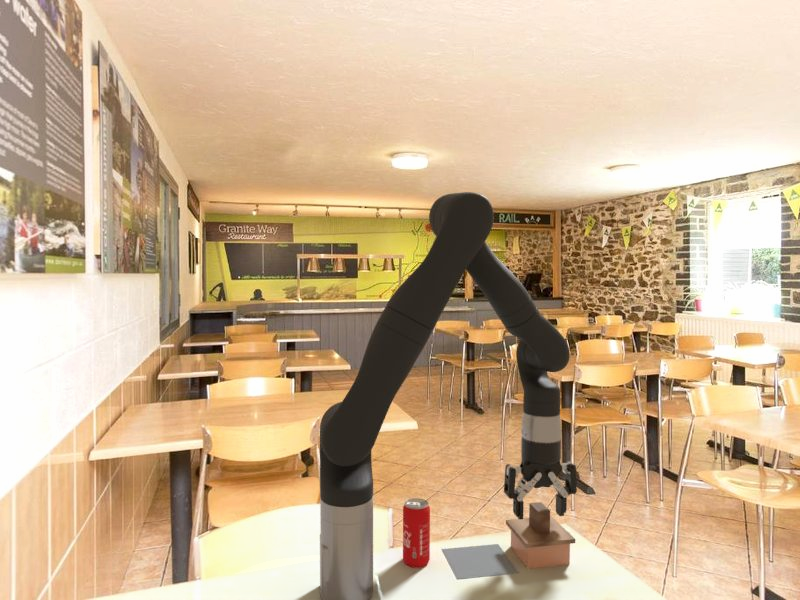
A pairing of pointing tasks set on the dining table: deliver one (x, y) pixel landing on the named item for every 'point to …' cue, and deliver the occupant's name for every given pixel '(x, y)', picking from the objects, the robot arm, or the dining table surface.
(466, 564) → the mat
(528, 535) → the lid
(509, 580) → the dining table surface
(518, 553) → the open salmon box
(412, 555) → the beverage can
